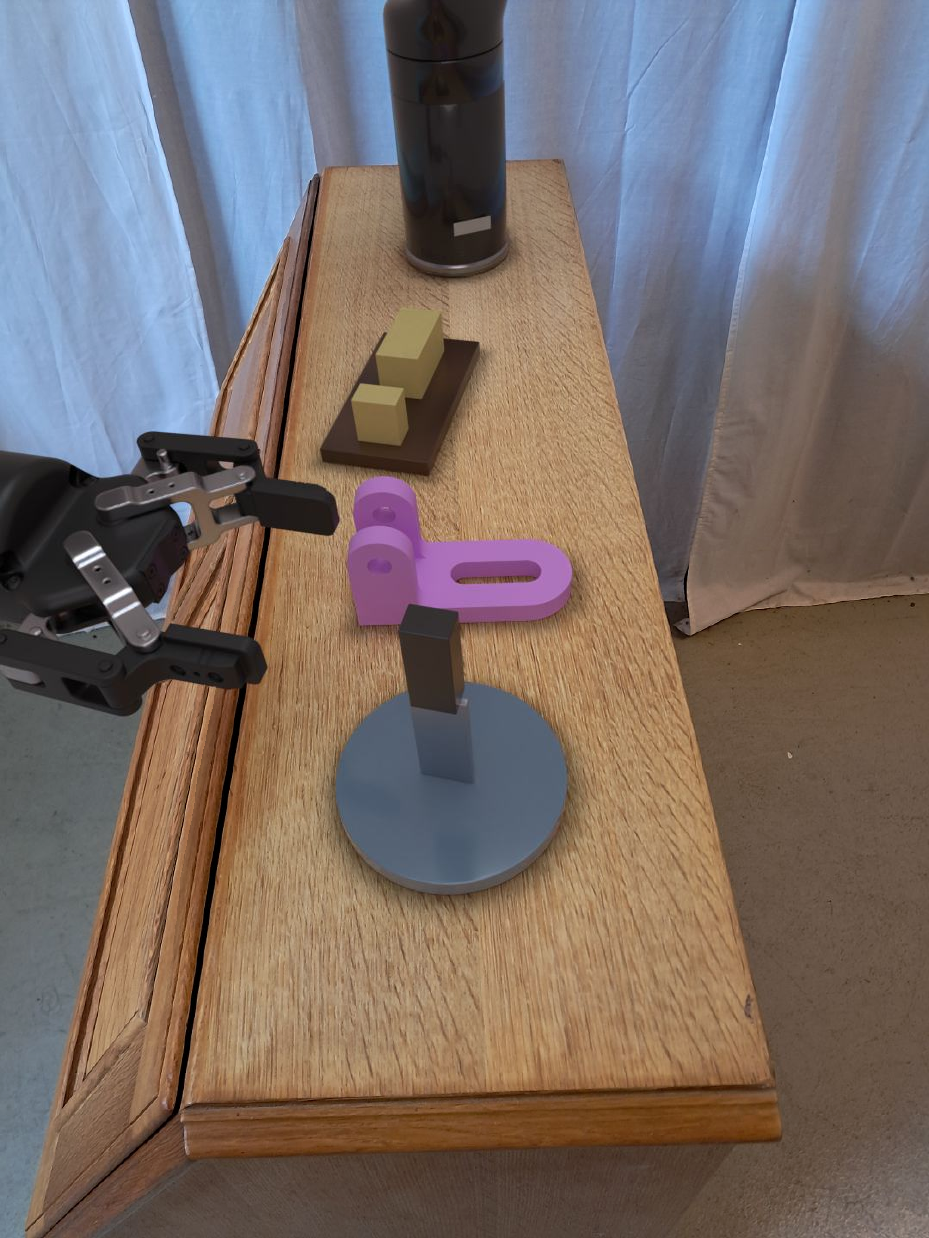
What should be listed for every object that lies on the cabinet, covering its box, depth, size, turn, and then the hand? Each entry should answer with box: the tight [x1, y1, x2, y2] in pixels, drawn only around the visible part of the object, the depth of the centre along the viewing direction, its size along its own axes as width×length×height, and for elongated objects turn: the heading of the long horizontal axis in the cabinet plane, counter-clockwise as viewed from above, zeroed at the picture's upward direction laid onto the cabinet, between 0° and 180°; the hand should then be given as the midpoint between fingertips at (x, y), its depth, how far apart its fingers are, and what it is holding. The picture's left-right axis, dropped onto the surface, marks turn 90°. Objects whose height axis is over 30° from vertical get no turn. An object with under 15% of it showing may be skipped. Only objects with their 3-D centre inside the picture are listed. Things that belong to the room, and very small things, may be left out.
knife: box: [397, 604, 475, 784], centre depth 43 cm, size 2×3×12 cm, turn 75°
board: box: [319, 331, 481, 477], centre depth 69 cm, size 15×8×1 cm, turn 165°
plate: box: [334, 681, 569, 896], centre depth 48 cm, size 12×12×1 cm
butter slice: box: [351, 384, 409, 446], centre depth 64 cm, size 2×3×4 cm, turn 76°
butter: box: [376, 306, 444, 399], centre depth 69 cm, size 6×3×4 cm, turn 165°
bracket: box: [346, 475, 573, 627], centre depth 55 cm, size 13×6×7 cm, turn 89°
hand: (300, 583), depth 38 cm, fingers open, 8 cm apart
